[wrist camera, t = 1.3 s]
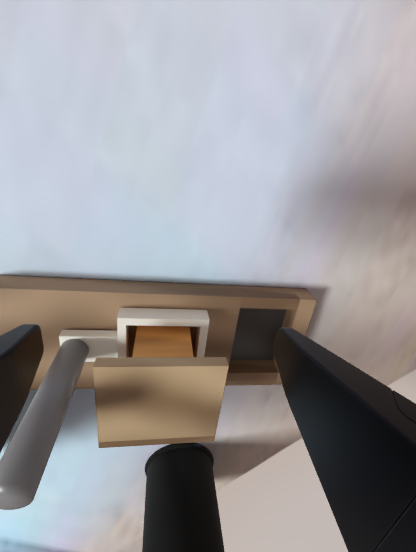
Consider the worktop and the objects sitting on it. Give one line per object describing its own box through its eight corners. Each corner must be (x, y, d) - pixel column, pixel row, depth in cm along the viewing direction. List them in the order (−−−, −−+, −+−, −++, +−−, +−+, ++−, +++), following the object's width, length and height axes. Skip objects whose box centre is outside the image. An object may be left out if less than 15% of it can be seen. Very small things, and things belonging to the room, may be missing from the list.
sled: (198, 373, 24) (218, 514, 15) (68, 374, 22) (-2, 537, 13) (206, 309, 21) (238, 435, 12) (59, 305, 20) (-37, 449, 10)
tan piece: (281, 369, 28) (317, 439, 22) (16, 372, 24) (-42, 461, 17) (305, 288, 24) (359, 343, 18) (-6, 274, 20) (-93, 340, 13)
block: (184, 361, 24) (188, 399, 20) (137, 361, 23) (131, 401, 19) (189, 322, 22) (193, 357, 18) (137, 321, 21) (132, 357, 18)
